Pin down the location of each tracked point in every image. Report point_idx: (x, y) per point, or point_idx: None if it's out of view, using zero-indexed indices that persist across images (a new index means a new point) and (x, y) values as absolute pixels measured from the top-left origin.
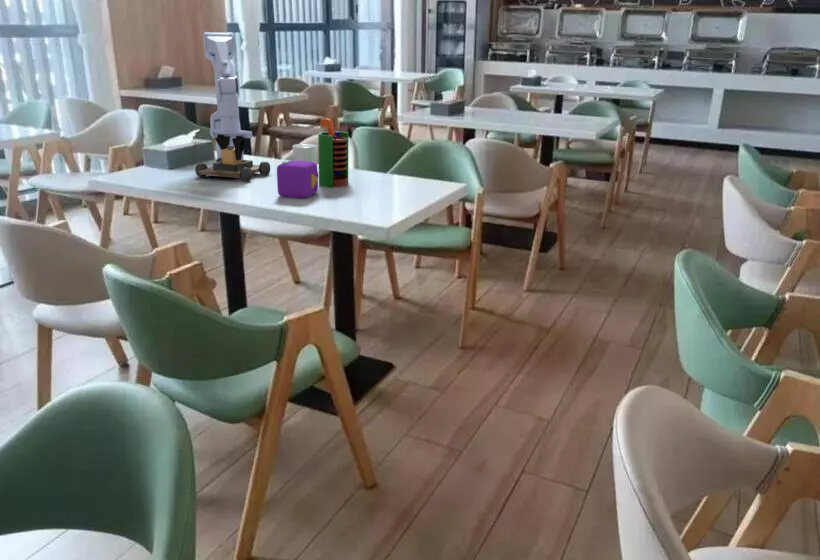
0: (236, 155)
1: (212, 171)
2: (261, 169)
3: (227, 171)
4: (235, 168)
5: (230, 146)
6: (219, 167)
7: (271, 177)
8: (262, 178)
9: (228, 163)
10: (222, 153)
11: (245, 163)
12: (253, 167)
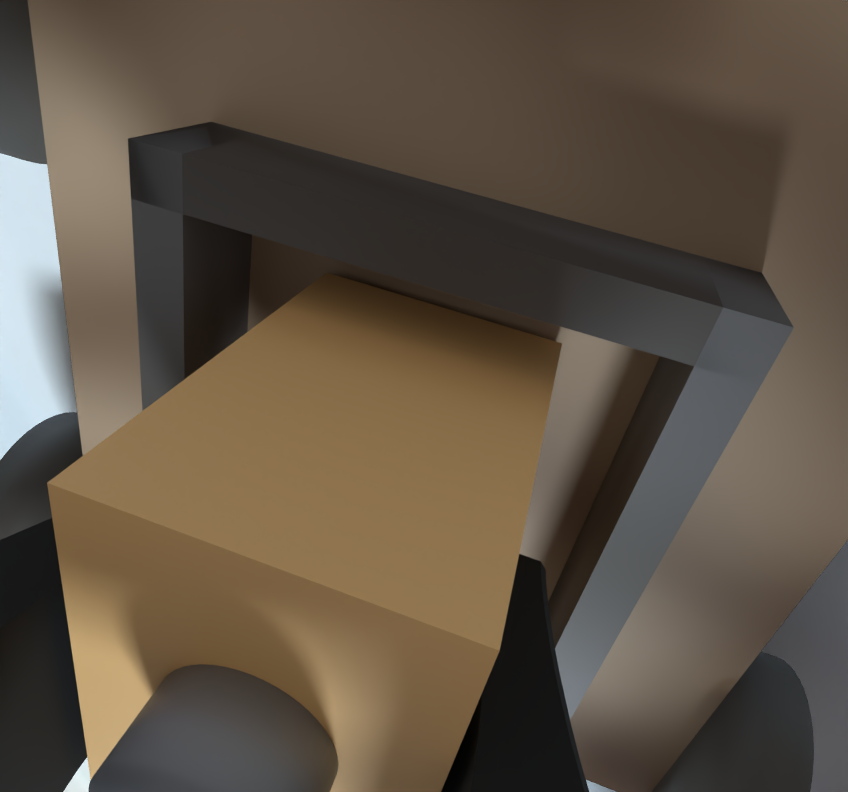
0: None
1: (736, 21)
2: (56, 433)
3: (385, 116)
4: (188, 134)
5: (135, 759)
6: (593, 241)
7: (8, 349)
8: (52, 281)
9: (387, 345)
10: (478, 534)
11: None
12: None
